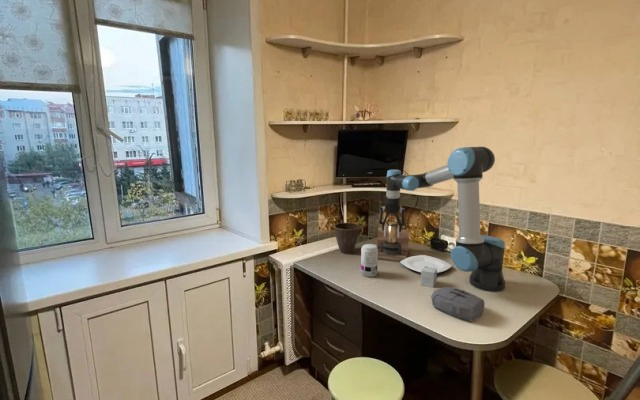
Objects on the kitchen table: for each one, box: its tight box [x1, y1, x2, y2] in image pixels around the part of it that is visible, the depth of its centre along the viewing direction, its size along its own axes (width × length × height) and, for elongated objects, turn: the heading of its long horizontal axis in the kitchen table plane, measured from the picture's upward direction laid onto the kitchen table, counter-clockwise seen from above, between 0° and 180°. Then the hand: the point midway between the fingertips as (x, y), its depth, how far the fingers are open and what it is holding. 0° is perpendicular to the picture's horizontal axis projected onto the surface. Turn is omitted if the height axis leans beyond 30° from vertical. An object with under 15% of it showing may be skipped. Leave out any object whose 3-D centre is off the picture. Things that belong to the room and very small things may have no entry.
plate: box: [399, 254, 452, 274], centre depth 182 cm, size 23×23×2 cm
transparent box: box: [377, 227, 410, 263], centre depth 198 cm, size 18×18×14 cm
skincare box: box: [420, 266, 438, 288], centre depth 162 cm, size 6×6×7 cm
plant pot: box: [333, 222, 360, 254], centre depth 205 cm, size 15×15×16 cm
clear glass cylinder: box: [387, 221, 399, 251], centre depth 197 cm, size 5×5×18 cm
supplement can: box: [360, 243, 379, 278], centre depth 173 cm, size 8×8×15 cm
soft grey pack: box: [430, 286, 485, 322], centre depth 139 cm, size 15×8×20 cm
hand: (391, 236), depth 197 cm, fingers open, 7 cm apart
